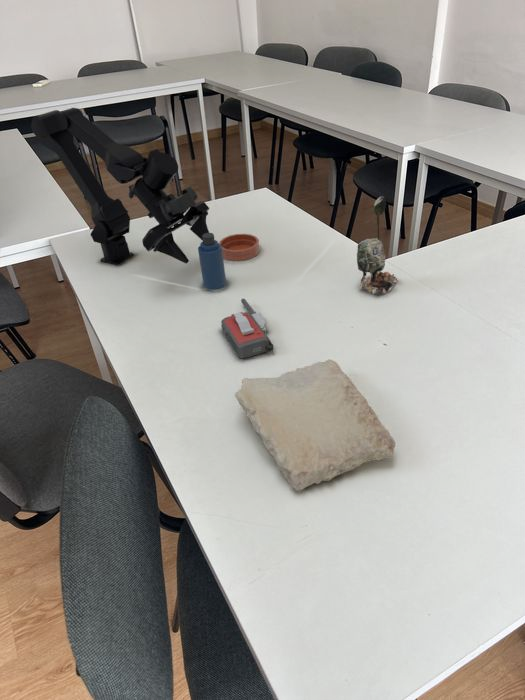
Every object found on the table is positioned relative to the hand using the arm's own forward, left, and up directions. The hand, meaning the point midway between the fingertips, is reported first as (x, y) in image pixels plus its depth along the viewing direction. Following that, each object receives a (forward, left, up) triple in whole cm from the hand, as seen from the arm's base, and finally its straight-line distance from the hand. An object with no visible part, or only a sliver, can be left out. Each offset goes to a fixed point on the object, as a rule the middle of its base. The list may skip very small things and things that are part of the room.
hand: (200, 254), depth 122 cm
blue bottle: (+3, 0, -8) cm, 8 cm away
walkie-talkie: (+19, -14, -8) cm, 25 cm away
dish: (0, +17, -8) cm, 18 cm away
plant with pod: (+38, +13, -8) cm, 41 cm away
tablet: (+42, -34, -8) cm, 55 cm away
